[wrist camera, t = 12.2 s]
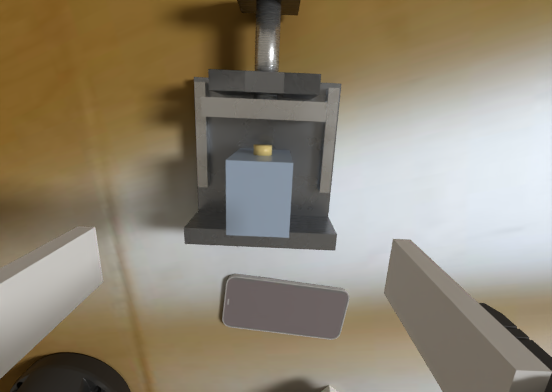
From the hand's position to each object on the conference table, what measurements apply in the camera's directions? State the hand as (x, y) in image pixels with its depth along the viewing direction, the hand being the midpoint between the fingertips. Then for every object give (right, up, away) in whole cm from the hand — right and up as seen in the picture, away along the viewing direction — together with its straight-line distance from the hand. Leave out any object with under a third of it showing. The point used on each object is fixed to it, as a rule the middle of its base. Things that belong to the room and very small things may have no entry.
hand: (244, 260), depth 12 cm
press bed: (0, +7, +17) cm, 19 cm away
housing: (0, +5, +17) cm, 17 cm away
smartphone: (+3, -11, +23) cm, 25 cm away
